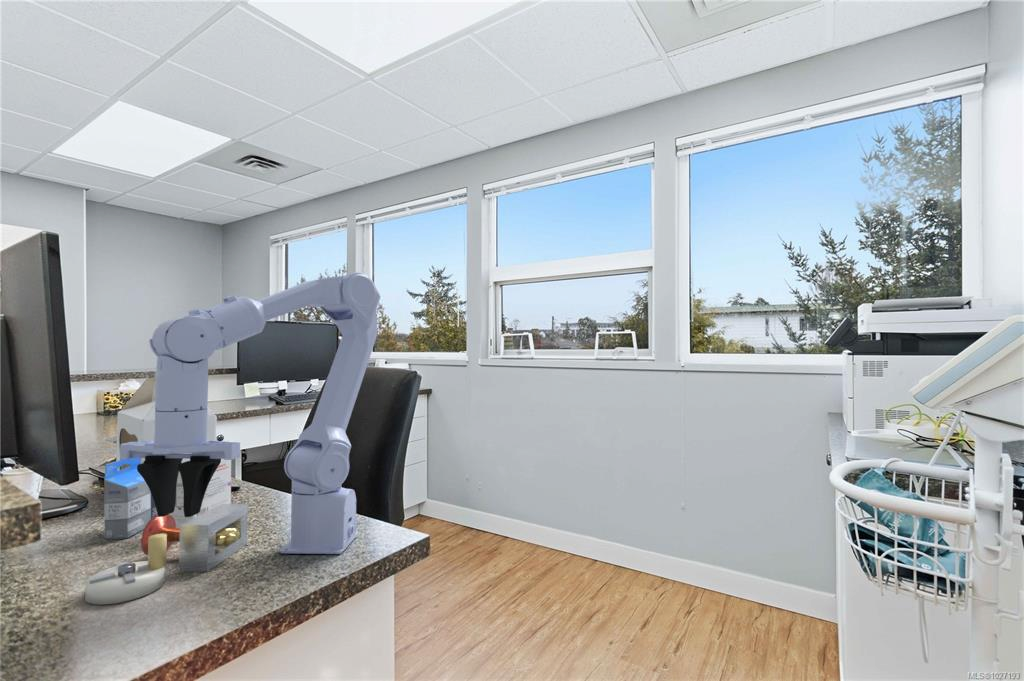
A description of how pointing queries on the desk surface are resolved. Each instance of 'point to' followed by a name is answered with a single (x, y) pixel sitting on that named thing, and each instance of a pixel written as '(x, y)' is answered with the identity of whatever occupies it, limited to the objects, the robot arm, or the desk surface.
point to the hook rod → (173, 534)
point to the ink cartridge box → (206, 493)
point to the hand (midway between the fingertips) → (179, 514)
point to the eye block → (211, 537)
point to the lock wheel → (130, 577)
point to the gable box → (147, 419)
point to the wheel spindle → (126, 569)
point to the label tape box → (126, 500)
